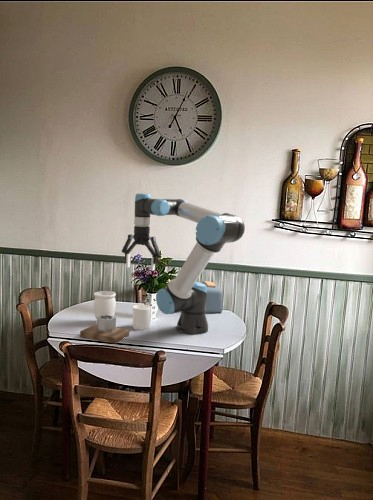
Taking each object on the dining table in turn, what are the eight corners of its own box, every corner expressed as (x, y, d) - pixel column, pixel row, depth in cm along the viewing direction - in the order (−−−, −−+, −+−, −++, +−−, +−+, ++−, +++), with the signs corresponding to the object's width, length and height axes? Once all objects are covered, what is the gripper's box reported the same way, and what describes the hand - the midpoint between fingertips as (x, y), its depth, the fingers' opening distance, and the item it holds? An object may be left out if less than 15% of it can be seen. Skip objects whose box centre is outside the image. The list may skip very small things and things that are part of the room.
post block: (129, 335, 209) (129, 317, 208) (115, 343, 198) (116, 324, 197) (94, 329, 216) (95, 311, 215) (80, 336, 205) (80, 318, 203)
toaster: (187, 306, 264) (188, 278, 262) (214, 305, 268) (215, 278, 266) (195, 314, 248) (196, 285, 246) (223, 313, 253) (225, 285, 250)
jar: (110, 327, 219) (111, 296, 217) (90, 325, 221) (90, 294, 219) (118, 321, 230) (119, 291, 227) (98, 318, 232) (99, 289, 229)
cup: (130, 329, 219) (130, 308, 217) (137, 321, 230) (138, 301, 229) (147, 330, 217) (147, 310, 216) (153, 323, 229) (154, 303, 227)
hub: (118, 329, 210) (118, 316, 209) (109, 334, 203) (109, 320, 202) (103, 326, 213) (103, 313, 212) (93, 331, 205) (94, 318, 204)
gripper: (168, 227, 223) (166, 270, 226) (123, 223, 232) (121, 264, 235) (162, 228, 216) (160, 272, 219) (115, 224, 225) (114, 267, 228)
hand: (140, 268), depth 227 cm, fingers open, 13 cm apart
